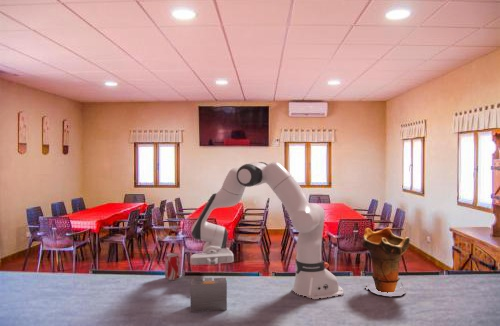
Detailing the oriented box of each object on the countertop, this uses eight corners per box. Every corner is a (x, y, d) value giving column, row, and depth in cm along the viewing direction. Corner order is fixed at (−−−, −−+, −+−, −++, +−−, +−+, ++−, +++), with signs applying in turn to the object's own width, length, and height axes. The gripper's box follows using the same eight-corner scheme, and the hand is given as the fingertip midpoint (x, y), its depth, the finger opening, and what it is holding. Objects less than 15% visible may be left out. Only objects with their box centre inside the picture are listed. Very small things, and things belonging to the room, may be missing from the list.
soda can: (176, 281, 177) (176, 257, 176) (162, 280, 178) (162, 256, 178) (182, 276, 184) (181, 253, 183) (168, 275, 185) (168, 252, 185)
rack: (225, 303, 151) (225, 276, 151) (226, 310, 145) (226, 281, 145) (190, 305, 149) (190, 277, 149) (190, 312, 143) (190, 283, 143)
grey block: (211, 301, 154) (211, 277, 154) (212, 309, 146) (212, 284, 146) (204, 301, 154) (204, 277, 153) (204, 309, 146) (204, 284, 146)
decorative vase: (382, 303, 152) (381, 235, 152) (352, 286, 174) (351, 226, 174) (424, 297, 158) (423, 232, 158) (389, 281, 180) (388, 224, 180)
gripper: (190, 250, 179) (189, 257, 165) (231, 247, 181) (234, 254, 168) (190, 262, 179) (189, 271, 165) (232, 260, 181) (234, 268, 168)
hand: (212, 263), depth 166 cm, fingers closed
